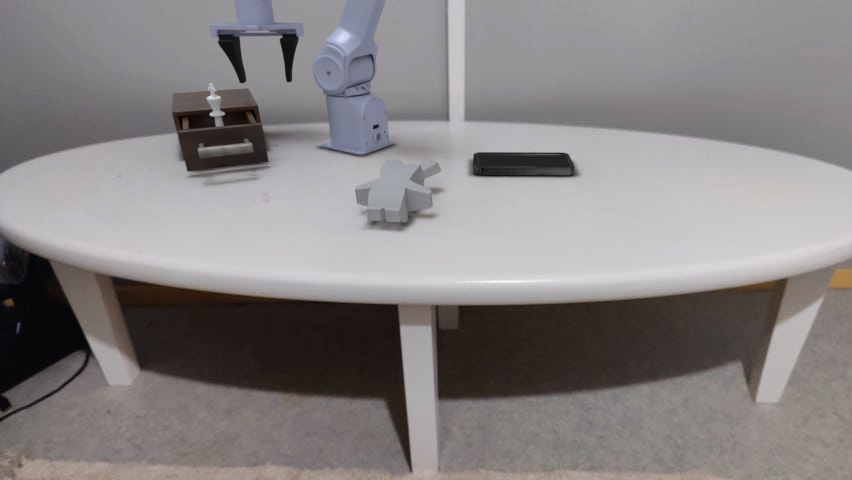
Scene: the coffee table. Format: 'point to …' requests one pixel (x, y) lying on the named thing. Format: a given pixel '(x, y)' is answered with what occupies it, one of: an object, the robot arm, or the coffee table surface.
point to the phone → (522, 163)
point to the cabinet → (199, 105)
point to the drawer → (222, 141)
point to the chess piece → (215, 105)
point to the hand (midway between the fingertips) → (266, 81)
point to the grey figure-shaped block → (397, 190)
